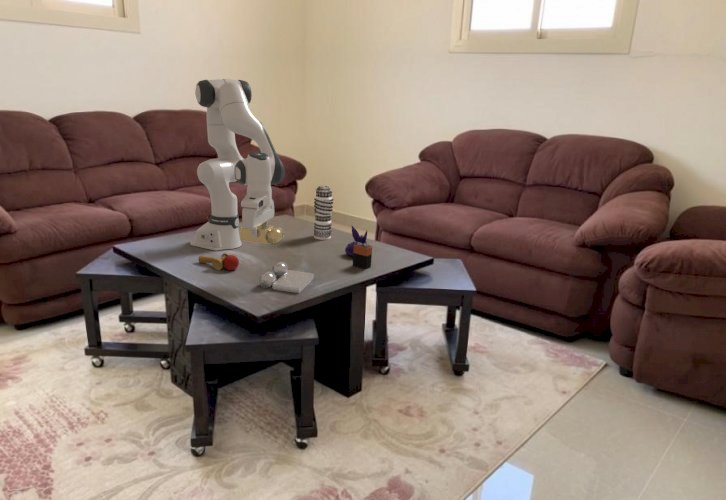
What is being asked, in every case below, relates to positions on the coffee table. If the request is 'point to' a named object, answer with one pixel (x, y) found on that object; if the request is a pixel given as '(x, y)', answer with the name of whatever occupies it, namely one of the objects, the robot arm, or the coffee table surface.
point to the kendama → (221, 261)
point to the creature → (356, 238)
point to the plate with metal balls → (285, 279)
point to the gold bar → (263, 234)
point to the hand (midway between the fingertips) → (259, 235)
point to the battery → (362, 255)
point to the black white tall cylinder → (323, 212)
